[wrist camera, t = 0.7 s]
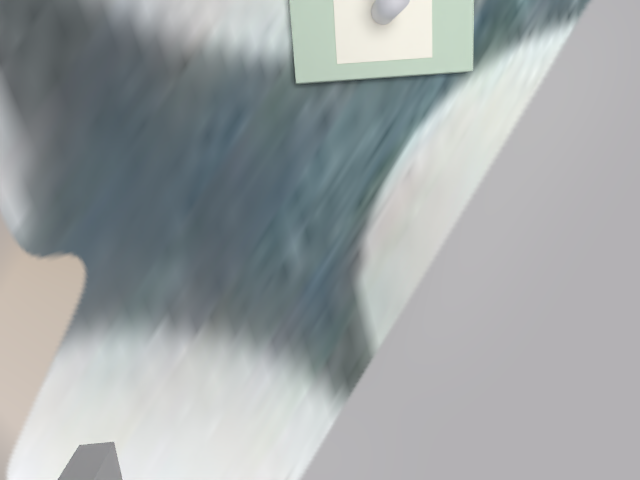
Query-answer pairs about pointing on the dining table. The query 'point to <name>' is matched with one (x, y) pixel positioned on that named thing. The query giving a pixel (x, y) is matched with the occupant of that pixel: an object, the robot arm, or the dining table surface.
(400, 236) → the dining table surface
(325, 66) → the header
